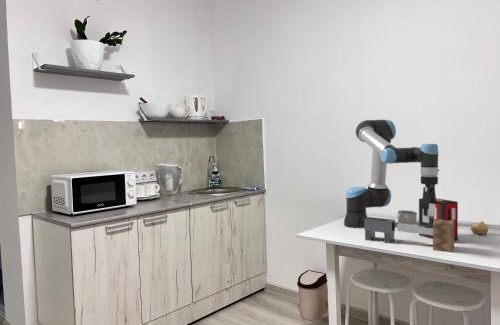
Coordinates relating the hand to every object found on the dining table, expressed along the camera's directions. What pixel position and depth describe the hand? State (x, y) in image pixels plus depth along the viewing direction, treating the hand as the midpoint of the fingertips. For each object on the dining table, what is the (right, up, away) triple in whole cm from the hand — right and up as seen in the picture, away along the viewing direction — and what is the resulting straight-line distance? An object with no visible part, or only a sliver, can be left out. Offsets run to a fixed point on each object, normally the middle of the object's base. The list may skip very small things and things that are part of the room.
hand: (428, 219), depth 182 cm
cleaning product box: (+12, -12, +16) cm, 24 cm away
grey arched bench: (-19, -13, +15) cm, 27 cm away
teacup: (+8, -11, +47) cm, 49 cm away
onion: (+37, -11, +21) cm, 45 cm away
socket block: (+5, -13, -3) cm, 15 cm away
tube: (-3, -7, +3) cm, 8 cm away
